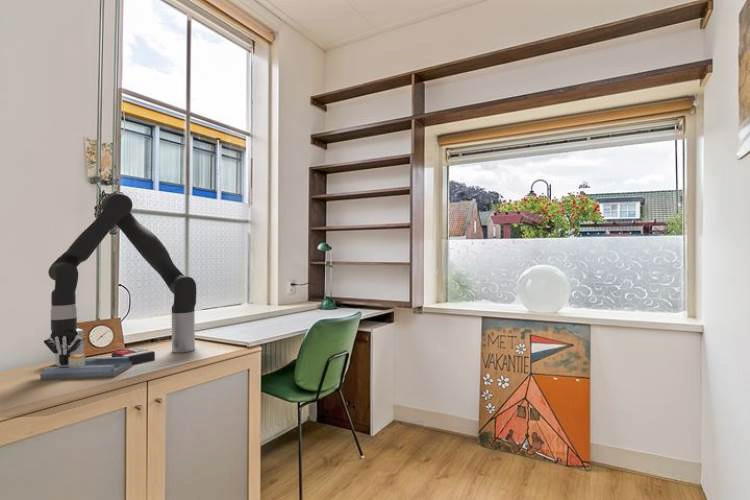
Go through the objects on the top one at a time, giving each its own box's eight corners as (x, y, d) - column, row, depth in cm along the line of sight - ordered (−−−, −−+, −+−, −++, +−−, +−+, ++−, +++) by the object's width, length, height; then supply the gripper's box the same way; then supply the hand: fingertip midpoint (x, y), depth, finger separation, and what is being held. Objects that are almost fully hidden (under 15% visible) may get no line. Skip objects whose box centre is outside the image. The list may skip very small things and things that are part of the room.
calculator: (140, 346, 172) (155, 349, 163) (140, 356, 172) (155, 360, 163) (110, 351, 163) (125, 355, 154) (111, 361, 163) (125, 366, 154)
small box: (79, 359, 163) (79, 327, 163) (84, 362, 159) (83, 330, 159) (54, 364, 157) (54, 331, 157) (58, 367, 153) (58, 333, 153)
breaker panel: (65, 368, 151) (65, 358, 151) (132, 366, 154) (132, 356, 154) (40, 380, 138) (40, 369, 138) (114, 377, 141) (113, 366, 141)
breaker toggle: (74, 365, 147) (74, 354, 147) (85, 365, 147) (85, 354, 147) (68, 368, 143) (68, 357, 143) (79, 368, 144) (79, 356, 144)
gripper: (89, 314, 149) (90, 360, 150) (51, 315, 148) (52, 362, 148) (76, 318, 142) (77, 366, 142) (36, 319, 141) (37, 368, 141)
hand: (64, 364), depth 145 cm, fingers closed
